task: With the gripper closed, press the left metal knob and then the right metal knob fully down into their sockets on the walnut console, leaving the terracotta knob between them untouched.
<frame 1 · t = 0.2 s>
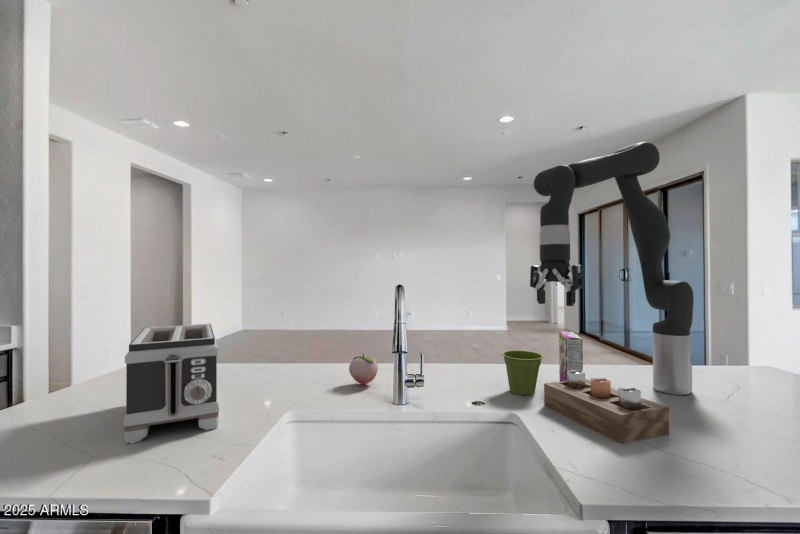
hand: (555, 304, 103), 27 cm above the worktop, tool pointing down, fingers open, 8 cm apart
console: (600, 418, 96), on the worktop
metal knob 1: (576, 378, 103), point 8 cm above the worktop, slide at 0.0 cm
metal knob 2: (629, 397, 88), point 8 cm above the worktop, slide at 0.0 cm
terracotta knob: (600, 387, 96), point 8 cm above the worktop, slide at 0.0 cm
toaster: (176, 418, 97), on the worktop
candy bar box: (570, 387, 121), on the worktop
decorative fruit: (364, 385, 124), on the worktop
plant pot: (522, 392, 117), on the worktop
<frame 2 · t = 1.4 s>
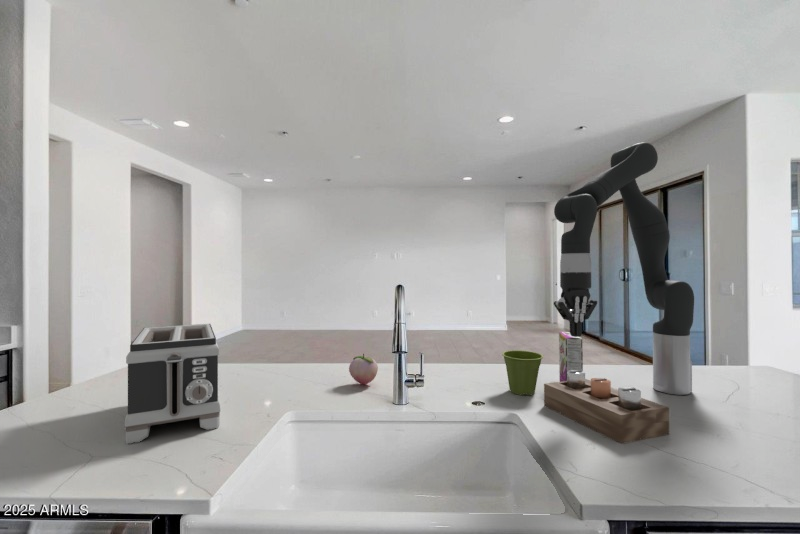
hand: (575, 336, 103), 19 cm above the worktop, tool pointing down, fingers closed
nothing on the worktop moved.
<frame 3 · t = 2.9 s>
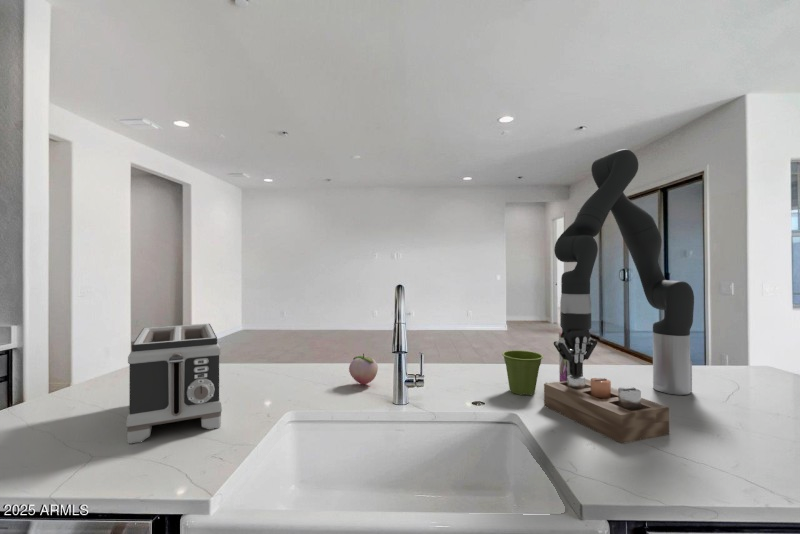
hand: (575, 376, 103), 8 cm above the worktop, tool pointing down, fingers closed
metal knob 1: (576, 383, 103), point 6 cm above the worktop, slide at 1.3 cm, touching gripper
everything else where it was.
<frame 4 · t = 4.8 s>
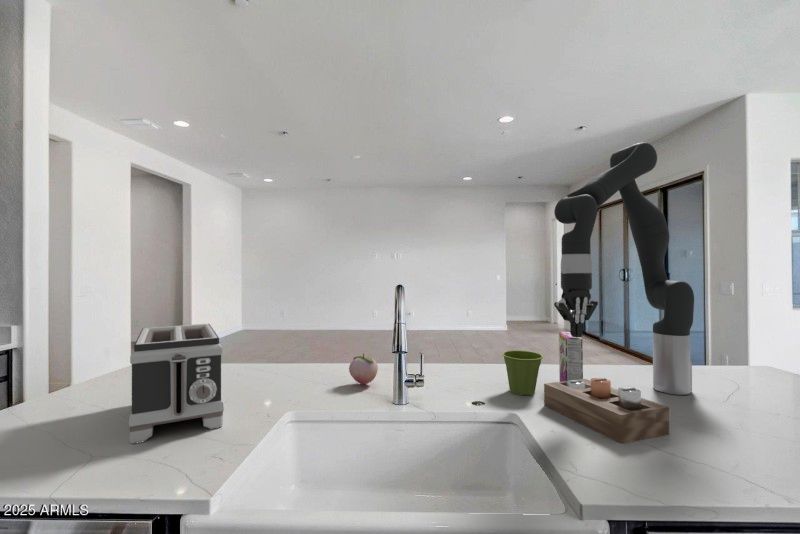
hand: (576, 336, 103), 19 cm above the worktop, tool pointing down, fingers closed
metal knob 1: (576, 388, 103), point 5 cm above the worktop, slide at 2.7 cm
everything else where it was.
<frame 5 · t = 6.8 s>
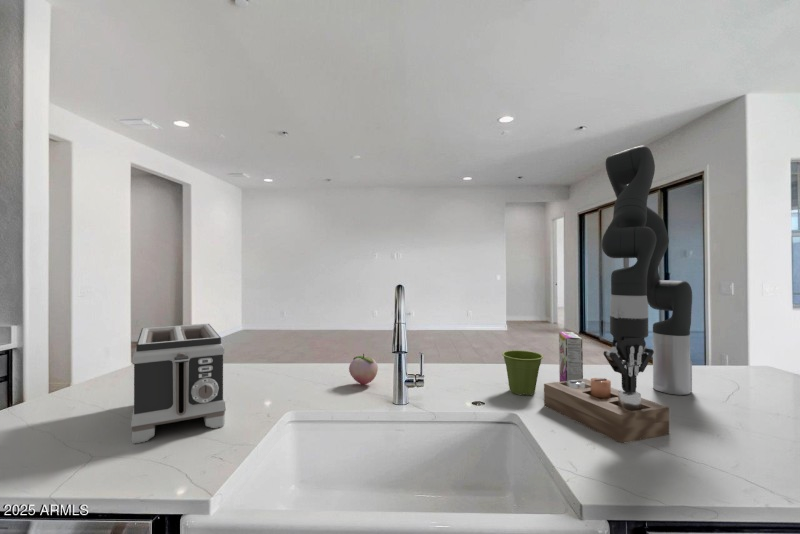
hand: (628, 391, 88), 9 cm above the worktop, tool pointing down, fingers closed
metal knob 2: (629, 400, 88), point 7 cm above the worktop, slide at 0.7 cm, touching gripper
everything else where it was.
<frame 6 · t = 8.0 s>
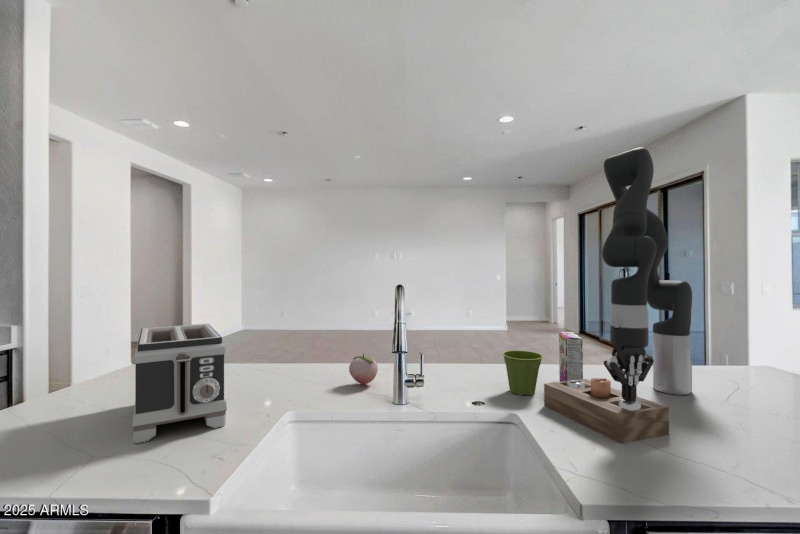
hand: (629, 400, 88), 7 cm above the worktop, tool pointing down, fingers closed
metal knob 2: (629, 409, 88), point 5 cm above the worktop, slide at 2.8 cm, touching gripper
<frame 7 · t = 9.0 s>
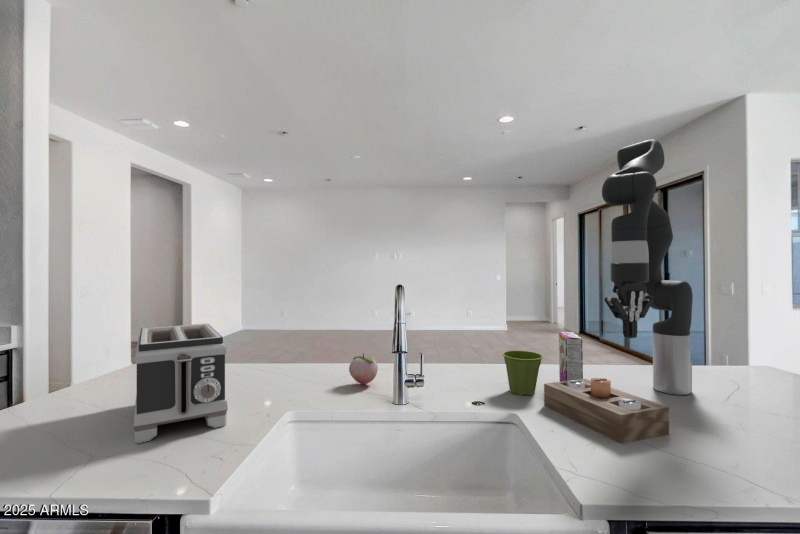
hand: (630, 337, 89), 21 cm above the worktop, tool pointing down, fingers closed
metal knob 2: (629, 409, 88), point 5 cm above the worktop, slide at 2.7 cm
everything else where it was.
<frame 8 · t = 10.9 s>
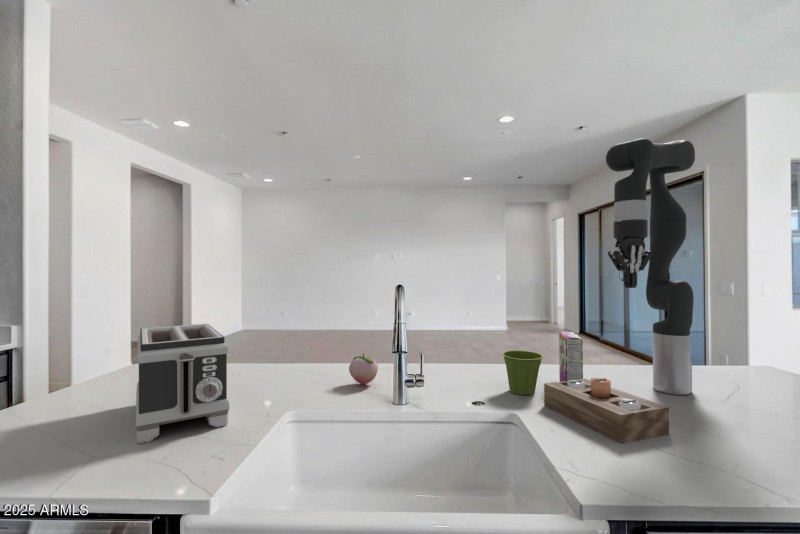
hand: (630, 287, 99), 32 cm above the worktop, tool pointing down, fingers closed
at the end: metal knob 1 slide at 2.7 cm; metal knob 2 slide at 2.7 cm; terracotta knob slide at 0.0 cm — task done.
